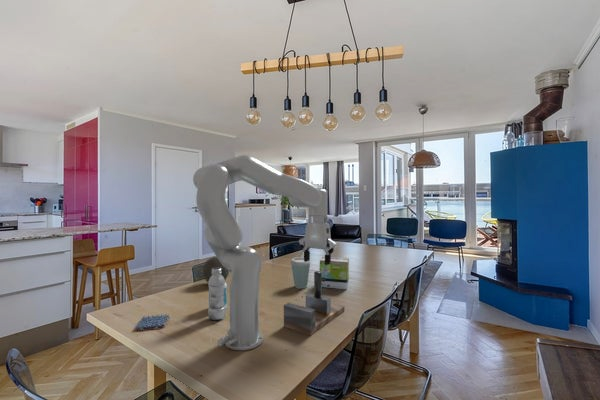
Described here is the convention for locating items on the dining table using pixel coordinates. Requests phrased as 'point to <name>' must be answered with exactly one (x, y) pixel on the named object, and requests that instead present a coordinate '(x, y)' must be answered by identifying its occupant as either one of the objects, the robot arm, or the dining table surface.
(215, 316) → the plastic bottle
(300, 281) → the disposable coffee cup
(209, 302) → the pill bottle
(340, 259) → the tea box
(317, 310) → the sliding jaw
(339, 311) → the press base
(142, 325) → the woven mat
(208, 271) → the cantaloupe
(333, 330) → the dining table surface
